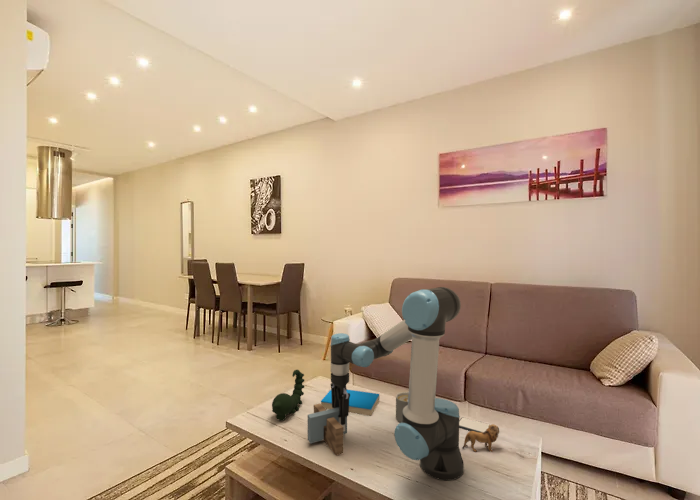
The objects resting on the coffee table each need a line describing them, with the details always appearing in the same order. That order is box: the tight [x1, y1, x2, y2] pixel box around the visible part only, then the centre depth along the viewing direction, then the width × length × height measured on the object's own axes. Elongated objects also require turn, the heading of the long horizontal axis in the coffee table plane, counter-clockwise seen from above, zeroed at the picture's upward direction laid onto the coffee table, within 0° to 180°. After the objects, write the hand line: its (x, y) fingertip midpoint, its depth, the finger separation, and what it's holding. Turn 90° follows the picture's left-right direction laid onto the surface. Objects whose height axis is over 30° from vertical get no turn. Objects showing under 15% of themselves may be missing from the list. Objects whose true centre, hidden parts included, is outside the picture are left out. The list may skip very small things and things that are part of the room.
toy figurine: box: [271, 369, 306, 422], centre depth 164 cm, size 9×19×25 cm
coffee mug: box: [395, 391, 409, 423], centre depth 161 cm, size 13×10×10 cm
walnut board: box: [313, 403, 344, 456], centre depth 143 cm, size 22×3×10 cm, turn 28°
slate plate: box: [307, 407, 348, 444], centre depth 143 cm, size 16×3×10 cm, turn 118°
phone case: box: [459, 417, 500, 433], centre depth 152 cm, size 9×2×16 cm
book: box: [320, 389, 380, 417], centre depth 174 cm, size 17×4×25 cm
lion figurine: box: [461, 423, 500, 453], centre depth 137 cm, size 15×5×9 cm, turn 97°
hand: (339, 429), depth 145 cm, fingers closed on slate plate, 3 cm apart
